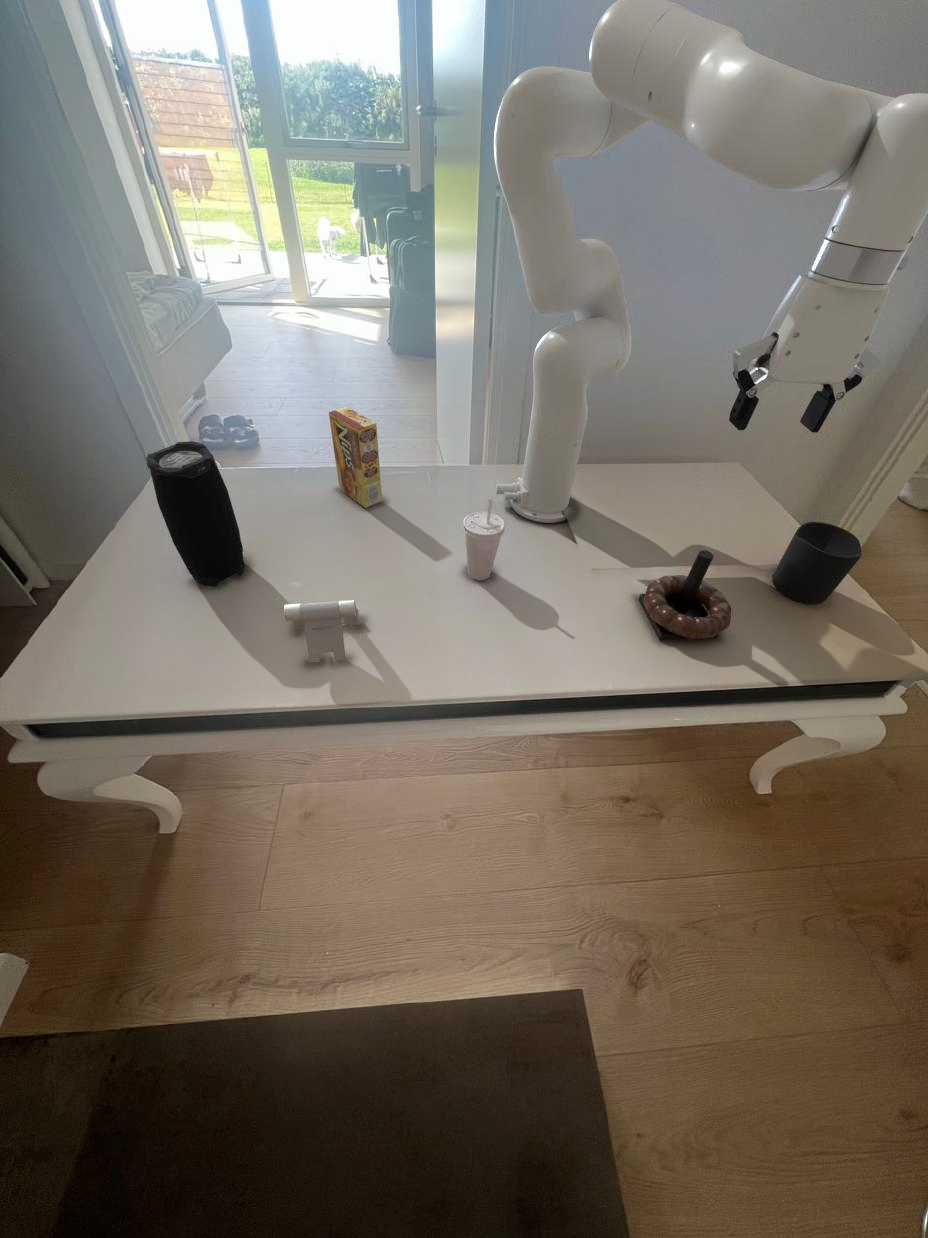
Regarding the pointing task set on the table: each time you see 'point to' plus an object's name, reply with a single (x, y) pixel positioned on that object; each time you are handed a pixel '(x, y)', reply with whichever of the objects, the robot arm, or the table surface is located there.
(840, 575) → the pen holder
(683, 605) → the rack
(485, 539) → the smoothie
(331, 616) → the tablet stand
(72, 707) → the table surface
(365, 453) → the candy box
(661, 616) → the chocolate torus ring
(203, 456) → the portable speaker
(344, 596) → the table surface
